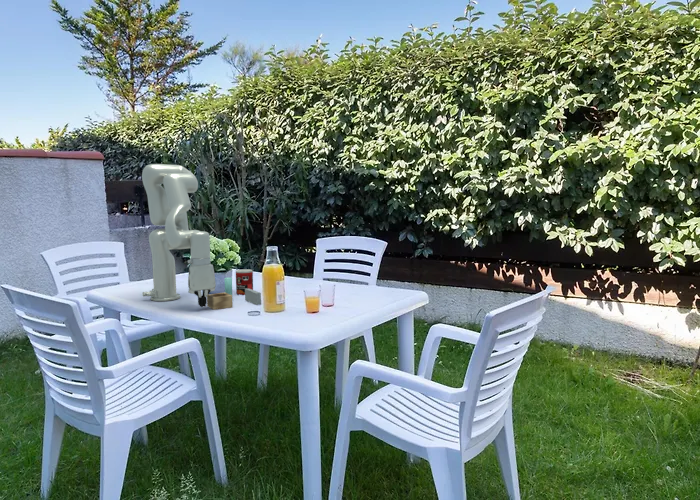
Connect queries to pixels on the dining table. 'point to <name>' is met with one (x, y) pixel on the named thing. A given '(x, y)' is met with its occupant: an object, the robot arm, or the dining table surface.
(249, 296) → the wall
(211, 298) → the wooden open box
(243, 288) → the canned food
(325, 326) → the dining table surface
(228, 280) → the dowel
